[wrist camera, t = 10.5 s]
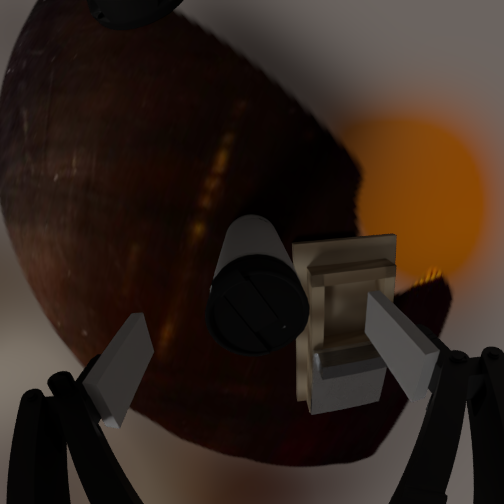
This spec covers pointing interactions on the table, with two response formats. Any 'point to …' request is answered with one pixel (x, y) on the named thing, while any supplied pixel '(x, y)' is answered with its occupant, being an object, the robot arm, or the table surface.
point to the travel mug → (255, 291)
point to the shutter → (346, 377)
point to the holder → (339, 293)
